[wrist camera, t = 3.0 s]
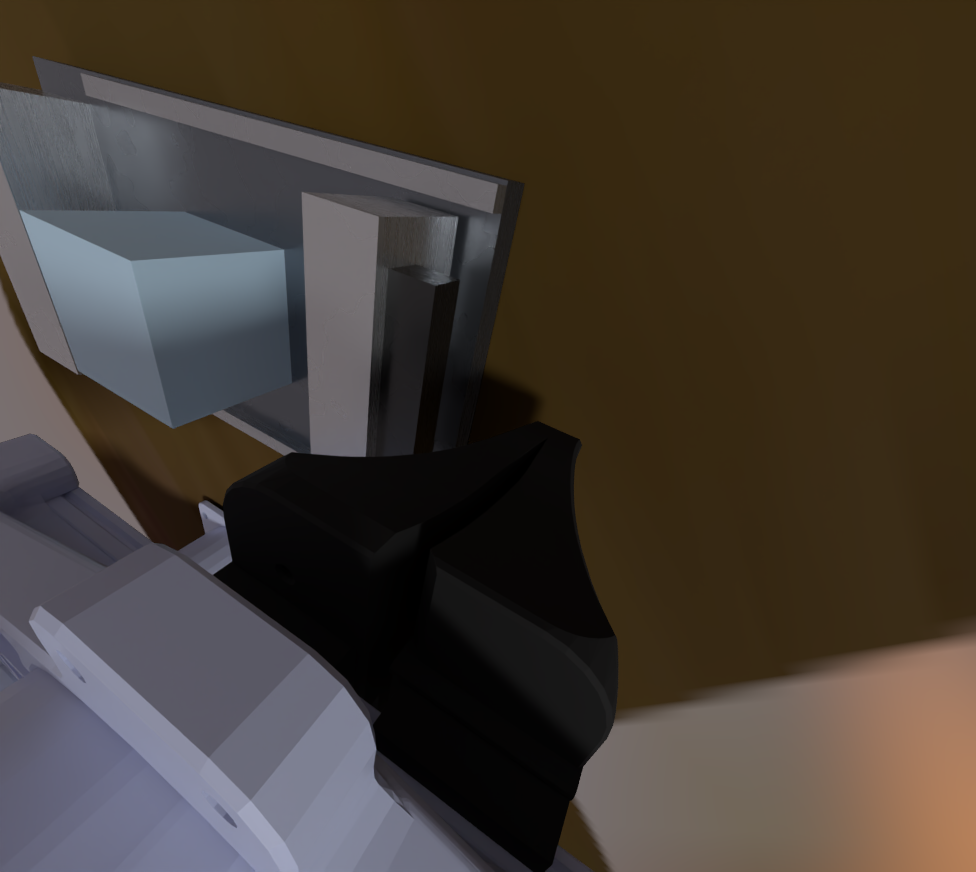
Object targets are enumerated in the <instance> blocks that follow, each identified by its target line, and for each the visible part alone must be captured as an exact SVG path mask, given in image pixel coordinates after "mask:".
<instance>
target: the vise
mask: <svg viewBox="0 0 976 872" xmlns="http://www.w3.org/2000/svg"><path fill="white" fill-rule="evenodd" d="M32 57H33V60H34V64H35V67H36V70H37V74H38V77H39V80H40V84H41V87H42V90H39V89H33V88H28V87H22V86H17V85H12V84H6V83H1V82H0V255H1V258H2V260H3V263H4V265H5V267H6V270H7V272H8V275H9V277H10V280H11V282H12V284H13V287H14V289H15V292H16V294H17V297H18V299H19V302H20V304H21V306H22V309H23V311H24V314H25V316H26V319H27V321H28V323H29V326H30V328H31V331H32V333H33V336H34V338H35V341H36V343H37V345H38V348H39V350H40V352H42V353H44V354H45V355H47V356H49V357H50V358H52V359H53V360H55V361H57V362H58V363H60V364H61V365H63V366H65V367H66V368H68V369H70V370H71V371H73V372H74V373H76V374H78V375H81V374H83V373H81V372H80V371H78V369H77V366H76V363H75V361H74V358H73V355H72V353H71V350H70V347H69V344H68V342H67V339H66V336H65V333H64V331H63V328H62V325H61V323H60V320H59V317H58V314H57V312H56V309H55V306H54V303H53V301H52V298H51V295H50V293H49V290H48V287H47V284H46V282H45V279H44V276H43V273H42V271H41V268H40V265H39V263H38V260H37V257H36V254H35V252H34V249H33V246H32V243H31V241H30V238H29V235H28V233H27V230H26V227H25V224H24V222H23V219H22V216H21V214H20V211H19V210H76V211H177V212H187V213H189V214H192V215H194V216H197V217H200V218H202V219H205V220H208V221H210V222H213V223H215V224H218V225H221V226H223V227H226V228H229V229H231V230H234V231H236V232H239V233H242V234H244V235H247V236H250V237H252V238H255V239H257V240H260V241H263V242H265V243H268V244H270V245H273V246H276V247H278V248H281V249H284V257H285V274H286V291H287V307H288V324H289V341H290V358H291V375H292V383H291V384H289V385H286V386H283V387H281V388H278V389H275V390H273V391H270V392H268V393H265V394H262V395H260V396H257V397H255V398H252V399H249V400H247V401H244V402H241V403H239V404H236V405H234V406H231V407H228V408H226V409H223V410H220V411H218V412H215V413H213V415H215V416H217V417H218V418H220V419H222V420H224V421H225V422H227V423H229V424H231V425H232V426H234V427H236V428H238V429H239V430H241V431H243V432H245V433H246V434H248V435H250V436H251V437H253V438H255V439H257V440H258V441H260V442H262V443H264V444H265V445H267V446H269V447H271V448H272V449H274V450H276V451H278V452H279V453H281V454H283V455H287V454H289V453H291V452H296V453H306V454H311V445H310V416H309V388H308V360H307V331H306V303H305V275H304V246H303V218H302V192H312V193H329V194H346V195H363V196H380V197H394V198H398V199H401V200H404V201H408V202H411V203H414V204H418V205H421V206H424V207H428V208H431V209H434V210H437V211H441V212H444V213H447V214H451V215H454V216H457V217H458V223H457V230H456V237H455V243H454V250H453V257H452V264H451V270H450V276H451V277H453V278H456V279H459V280H460V285H459V291H458V297H457V303H456V309H455V315H454V321H453V328H452V334H451V340H450V346H449V352H448V358H447V364H446V371H445V377H444V383H443V389H442V395H441V401H440V407H439V413H438V420H437V426H436V432H435V438H434V444H433V450H432V452H435V451H441V450H447V449H452V448H456V447H461V446H464V445H468V440H469V436H470V431H471V427H472V422H473V417H474V413H475V408H476V404H477V399H478V394H479V390H480V385H481V381H482V376H483V372H484V367H485V362H486V358H487V353H488V349H489V344H490V339H491V335H492V330H493V326H494V321H495V317H496V312H497V307H498V303H499V298H500V294H501V289H502V285H503V280H504V275H505V271H506V266H507V262H508V257H509V252H510V248H511V243H512V239H513V234H514V230H515V225H516V220H517V216H518V211H519V207H520V202H521V197H522V193H523V188H524V184H525V183H521V182H517V181H513V180H509V179H505V178H502V177H498V176H494V175H490V174H486V173H482V172H479V171H475V170H471V169H467V168H463V167H459V166H456V165H452V164H448V163H444V162H440V161H436V160H433V159H429V158H425V157H421V156H417V155H413V154H410V153H406V152H402V151H398V150H394V149H390V148H387V147H383V146H379V145H375V144H371V143H367V142H364V141H360V140H356V139H352V138H348V137H344V136H341V135H337V134H333V133H329V132H325V131H321V130H317V129H314V128H310V127H306V126H302V125H298V124H294V123H291V122H287V121H283V120H279V119H275V118H271V117H268V116H264V115H260V114H256V113H252V112H248V111H245V110H241V109H237V108H233V107H229V106H225V105H222V104H218V103H214V102H210V101H206V100H202V99H199V98H195V97H191V96H187V95H183V94H179V93H176V92H172V91H168V90H164V89H160V88H156V87H153V86H149V85H145V84H141V83H137V82H133V81H130V80H126V79H122V78H118V77H114V76H110V75H107V74H103V73H99V72H95V71H91V70H87V69H84V68H80V67H76V66H72V65H68V64H64V63H60V62H56V61H51V60H47V59H43V58H38V57H34V56H32Z"/></svg>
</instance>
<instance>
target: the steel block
mask: <svg viewBox="0 0 976 872" xmlns="http://www.w3.org/2000/svg"><path fill="white" fill-rule="evenodd" d="M19 211H20V214H21V216H22V219H23V222H24V224H25V227H26V230H27V233H28V235H29V238H30V241H31V243H32V246H33V249H34V252H35V254H36V257H37V260H38V263H39V265H40V268H41V271H42V273H43V276H44V279H45V282H46V284H47V287H48V290H49V293H50V295H51V298H52V301H53V303H54V306H55V309H56V312H57V314H58V317H59V320H60V323H61V325H62V328H63V331H64V333H65V336H66V339H67V342H68V344H69V347H70V350H71V353H72V355H73V358H74V361H75V363H76V366H77V369H78V371H80V372H81V373H83V374H84V375H86V376H88V377H89V378H91V379H93V380H94V381H96V382H97V383H99V384H101V385H102V386H104V387H106V388H107V389H109V390H111V391H112V392H114V393H115V394H117V395H119V396H120V397H122V398H124V399H125V400H127V401H129V402H130V403H132V404H133V405H135V406H137V407H138V408H140V409H142V410H143V411H145V412H146V413H148V414H150V415H151V416H153V417H155V418H156V419H158V420H160V421H161V422H163V423H164V424H166V425H168V426H169V427H171V428H176V427H179V426H181V425H184V424H186V423H189V422H192V421H194V420H197V419H200V418H202V417H205V416H207V415H210V414H213V413H215V412H218V411H220V410H223V409H226V408H228V407H231V406H234V405H236V404H239V403H241V402H244V401H247V400H249V399H252V398H255V397H257V396H260V395H262V394H265V393H268V392H270V391H273V390H275V389H278V388H281V387H283V386H286V385H289V384H291V383H292V375H291V358H290V341H289V324H288V307H287V291H286V274H285V257H284V249H281V248H278V247H276V246H273V245H270V244H268V243H265V242H263V241H260V240H257V239H255V238H252V237H250V236H247V235H244V234H242V233H239V232H236V231H234V230H231V229H229V228H226V227H223V226H221V225H218V224H215V223H213V222H210V221H208V220H205V219H202V218H200V217H197V216H194V215H192V214H189V213H187V212H177V211H76V210H19Z"/></svg>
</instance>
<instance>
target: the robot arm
mask: <svg viewBox="0 0 976 872" xmlns="http://www.w3.org/2000/svg"><path fill="white" fill-rule="evenodd" d="M581 446H582V444H581V442H580V439H577V438H575V437H573V436H570V435H568V434H566V433H564V432H561V431H559V430H557V429H555V428H552V427H550V426H548V425H545V424H543V423H541V422H539V421H537V422H534V423H531V424H528V425H525V426H523V427H520V428H517V429H515V430H512V431H509V432H507V433H504V434H501V435H498V436H495V437H492V438H489V439H486V440H482V441H479V442H475V443H472V444H468V445H464V446H461V447H456V448H452V449H447V450H441V451H435V452H429V453H421V454H410V455H398V456H381V457H350V456H331V455H319V454H306V453H296V452H291V453H289V454H287V455H285V456H283V457H281V458H279V459H277V460H276V461H274V462H272V463H270V464H268V465H266V466H264V467H263V468H261V469H259V470H257V471H255V472H253V473H251V474H250V475H248V476H246V477H244V478H242V479H240V480H238V481H237V482H235V483H233V484H232V485H231V486H230V487H229V488H228V489H227V491H226V494H225V498H224V502H223V511H222V510H221V509H219V508H218V507H216V506H215V505H213V504H212V503H210V502H209V501H206V500H205V501H203V502H201V503H199V510H200V514H201V518H202V522H203V526H204V530H205V535H203V536H202V537H200V538H198V539H197V540H195V541H193V542H192V543H190V544H188V545H187V546H185V547H183V548H182V549H180V550H179V551H176V550H174V549H172V548H170V547H168V546H166V545H165V544H158V543H153V542H152V541H151V540H149V539H148V538H146V537H145V536H144V535H142V534H141V533H140V532H138V531H137V530H136V529H134V528H133V527H132V526H130V525H129V524H128V523H126V522H125V521H124V520H122V519H121V518H120V517H118V516H117V515H116V514H114V513H113V512H112V511H110V510H109V509H108V508H106V507H105V506H104V505H102V504H101V503H100V502H98V501H97V500H96V499H94V498H93V497H91V496H90V495H89V494H87V493H86V492H85V491H84V490H82V489H81V488H79V487H78V485H79V482H78V479H77V476H76V474H75V472H74V469H73V468H72V466H71V464H70V463H69V461H68V460H67V459H66V457H64V456H63V455H62V454H61V453H60V452H59V451H58V450H56V449H55V448H53V447H52V446H51V445H49V444H48V443H46V442H45V441H44V440H42V439H41V438H40V437H38V436H37V435H34V434H27V435H24V436H21V437H18V438H14V439H11V440H8V441H5V442H2V443H0V872H594V871H592V870H591V869H590V868H588V867H587V866H586V865H584V864H583V863H582V862H580V861H579V860H578V859H576V858H575V857H573V856H572V855H571V854H569V853H568V852H567V851H565V850H564V849H563V848H561V847H560V846H559V845H558V842H559V838H560V835H561V831H562V827H563V824H564V820H565V816H566V813H567V809H568V805H569V801H570V800H572V799H573V798H574V796H575V794H576V791H577V788H578V784H579V780H580V776H581V772H582V769H583V766H584V765H585V764H586V763H587V761H588V760H589V759H590V758H591V757H592V756H593V754H594V753H595V752H596V751H597V750H598V748H599V747H600V746H601V745H602V744H603V743H604V741H605V740H606V739H607V737H608V735H609V733H610V731H611V729H612V726H613V723H614V718H615V713H616V704H617V692H618V645H617V638H616V636H615V634H614V632H613V630H612V628H611V626H610V624H609V622H608V620H607V618H606V616H605V613H604V611H603V609H602V607H601V605H600V603H599V600H598V597H597V595H596V592H595V590H594V587H593V585H592V582H591V579H590V576H589V572H588V569H587V566H586V563H585V559H584V556H583V553H582V549H581V545H580V540H579V535H578V530H577V524H576V517H575V508H574V470H575V463H576V458H577V456H578V453H579V451H580V448H581Z"/></svg>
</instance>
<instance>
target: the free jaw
mask: <svg viewBox="0 0 976 872" xmlns="http://www.w3.org/2000/svg"><path fill="white" fill-rule="evenodd" d="M302 218H303V246H304V275H305V303H306V331H307V360H308V388H309V416H310V445H311V454H319V455H331V456H350V457H381V456H398V455H410V454H421V453H429V452H432V450H433V444H434V438H435V432H436V426H437V420H438V413H439V407H440V401H441V395H442V389H443V383H444V377H445V371H446V364H447V358H448V352H449V346H450V340H451V334H452V328H453V321H454V315H455V309H456V303H457V297H458V291H459V285H460V280H459V279H456V278H453V277H451V276H450V270H451V264H452V257H453V250H454V243H455V237H456V230H457V223H458V217H457V216H454V215H451V214H447V213H444V212H441V211H437V210H434V209H431V208H428V207H424V206H421V205H418V204H414V203H411V202H408V201H404V200H401V199H398V198H394V197H380V196H363V195H346V194H329V193H312V192H302Z"/></svg>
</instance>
